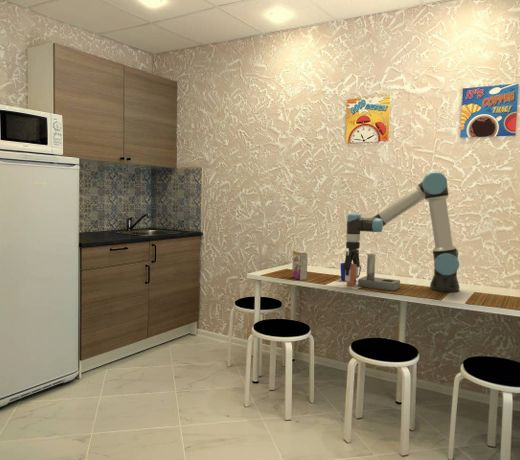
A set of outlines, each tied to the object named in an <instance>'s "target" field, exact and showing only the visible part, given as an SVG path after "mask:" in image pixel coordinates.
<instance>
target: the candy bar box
mask: <svg viewBox="0 0 520 460" xmlns="http://www.w3.org/2000/svg"><path fill="white" fill-rule="evenodd" d="M291 262H292V264H291V267H292V269H291V271H292V274H291V276H292V278H294V279H297V280H299V281H307V279H308V252H305V251H302V250H292V261H291Z"/></svg>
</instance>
